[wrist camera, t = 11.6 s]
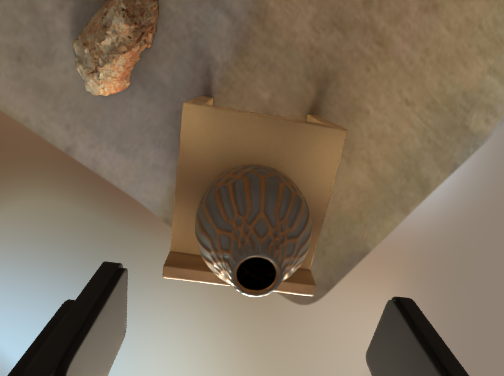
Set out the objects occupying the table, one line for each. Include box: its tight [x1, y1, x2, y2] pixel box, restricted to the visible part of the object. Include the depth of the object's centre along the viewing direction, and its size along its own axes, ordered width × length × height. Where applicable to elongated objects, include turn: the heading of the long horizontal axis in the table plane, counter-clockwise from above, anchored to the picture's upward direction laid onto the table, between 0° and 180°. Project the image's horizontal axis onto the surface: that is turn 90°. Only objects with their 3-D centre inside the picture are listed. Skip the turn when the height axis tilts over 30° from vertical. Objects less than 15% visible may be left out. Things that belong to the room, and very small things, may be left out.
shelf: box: [163, 96, 348, 296], centre depth 25 cm, size 12×11×10 cm
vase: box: [195, 164, 312, 297], centre depth 18 cm, size 7×7×9 cm
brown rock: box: [73, 0, 159, 96], centre depth 24 cm, size 10×4×5 cm
